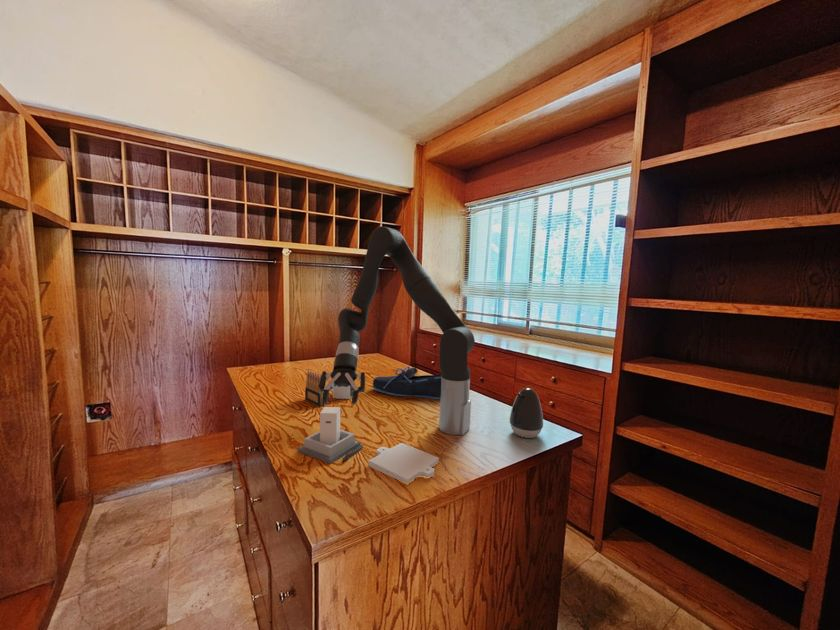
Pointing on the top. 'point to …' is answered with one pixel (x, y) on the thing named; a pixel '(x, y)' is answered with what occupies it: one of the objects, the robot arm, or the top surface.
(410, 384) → the moccasin
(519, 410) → the dark grey egg shape
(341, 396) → the medicine bottle
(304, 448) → the grey square tray
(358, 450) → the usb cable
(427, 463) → the mounting plate
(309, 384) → the pencil set
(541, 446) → the top surface
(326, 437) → the charger
